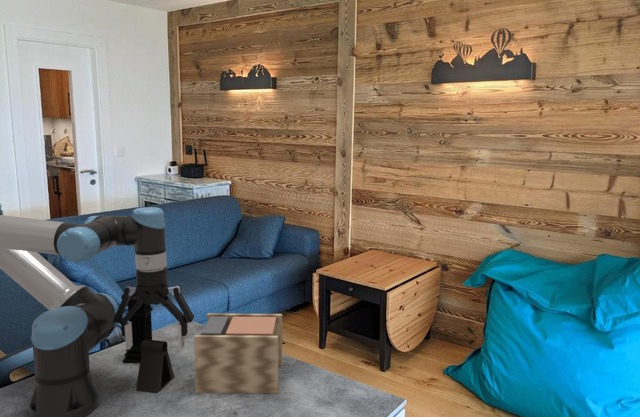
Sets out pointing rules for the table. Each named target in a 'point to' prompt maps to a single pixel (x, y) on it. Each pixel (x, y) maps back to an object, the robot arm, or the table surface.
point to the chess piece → (138, 329)
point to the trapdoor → (240, 326)
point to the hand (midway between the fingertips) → (155, 347)
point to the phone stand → (154, 367)
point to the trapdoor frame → (238, 360)
